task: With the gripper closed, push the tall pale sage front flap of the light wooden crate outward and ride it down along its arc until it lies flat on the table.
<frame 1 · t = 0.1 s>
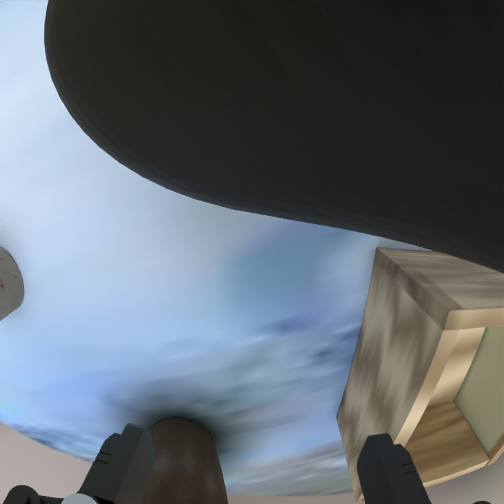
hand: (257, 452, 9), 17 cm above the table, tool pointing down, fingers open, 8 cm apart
plant pot: (182, 434, 32), on the table
thermos bottle: (3, 277, 27), on the table
crate: (424, 344, 27), on the table
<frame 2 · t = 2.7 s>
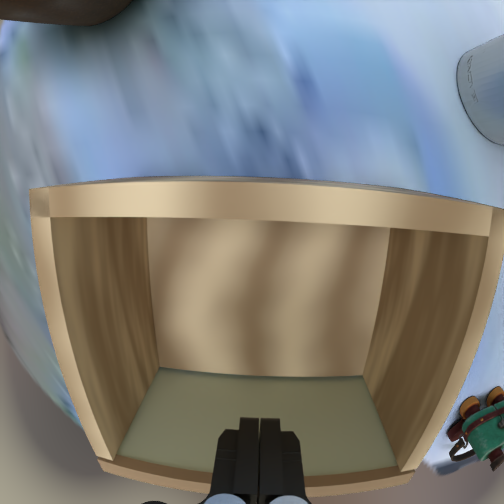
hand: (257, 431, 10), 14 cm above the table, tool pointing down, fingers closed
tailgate: (259, 427, 19), point 6 cm above the table, hinge at 0.0°
binoculars: (472, 414, 27), on the table
crate: (266, 285, 23), on the table
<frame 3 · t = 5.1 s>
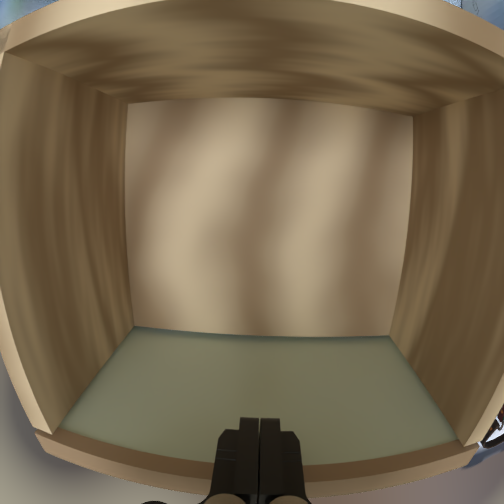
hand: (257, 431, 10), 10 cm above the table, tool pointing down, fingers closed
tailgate: (261, 399, 15), point 6 cm above the table, hinge at 0.2°, touching gripper
binoculars: (502, 394, 23), on the table
crate: (268, 212, 19), on the table
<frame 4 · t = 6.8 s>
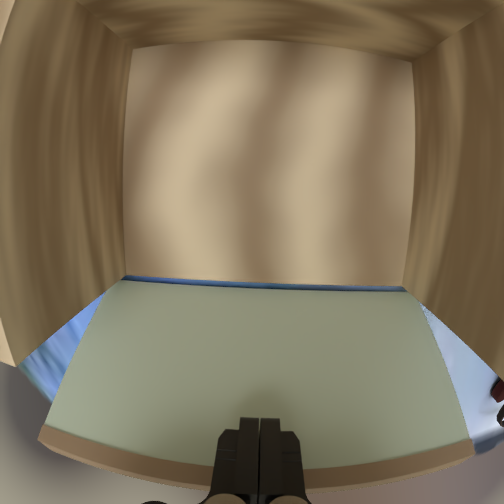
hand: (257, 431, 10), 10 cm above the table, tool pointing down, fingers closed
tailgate: (262, 377, 14), point 6 cm above the table, hinge at 21.2°, touching gripper
crate: (270, 149, 17), on the table
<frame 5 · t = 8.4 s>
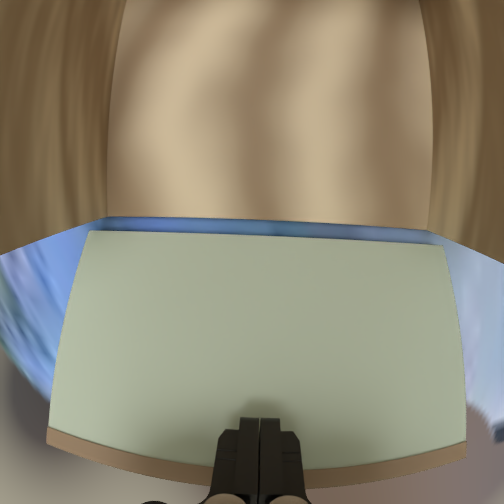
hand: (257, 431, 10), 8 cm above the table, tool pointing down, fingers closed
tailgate: (265, 358, 13), point 5 cm above the table, hinge at 46.6°, touching gripper
crate: (274, 74, 14), on the table
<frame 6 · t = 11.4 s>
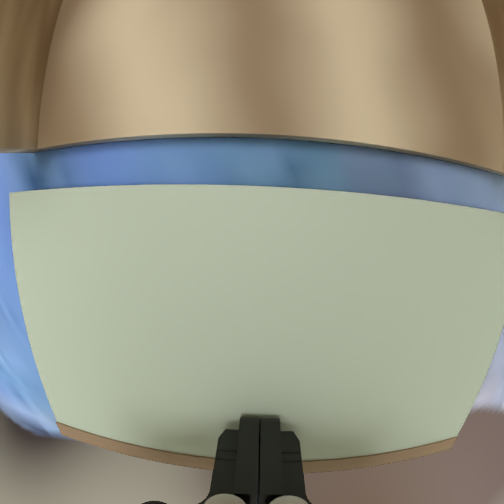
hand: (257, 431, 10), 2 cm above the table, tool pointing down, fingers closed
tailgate: (267, 361, 10), point 1 cm above the table, hinge at 87.6°, touching gripper
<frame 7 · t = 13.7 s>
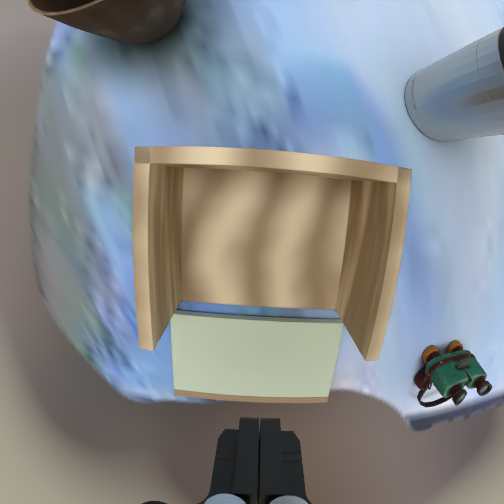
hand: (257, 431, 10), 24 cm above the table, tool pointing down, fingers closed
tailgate: (254, 362, 36), point 1 cm above the table, hinge at 87.7°
plant pot: (152, 19, 27), on the table
binoculars: (436, 366, 38), on the table
crate: (264, 235, 33), on the table
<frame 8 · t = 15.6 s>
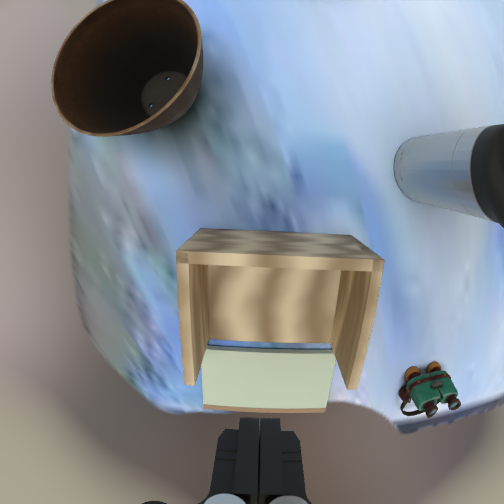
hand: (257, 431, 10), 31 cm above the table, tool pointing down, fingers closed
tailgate: (267, 382, 44), point 1 cm above the table, hinge at 87.7°
plant pot: (168, 95, 36), on the table
binoculars: (418, 382, 46), on the table
crate: (273, 289, 42), on the table
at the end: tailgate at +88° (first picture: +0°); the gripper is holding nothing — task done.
